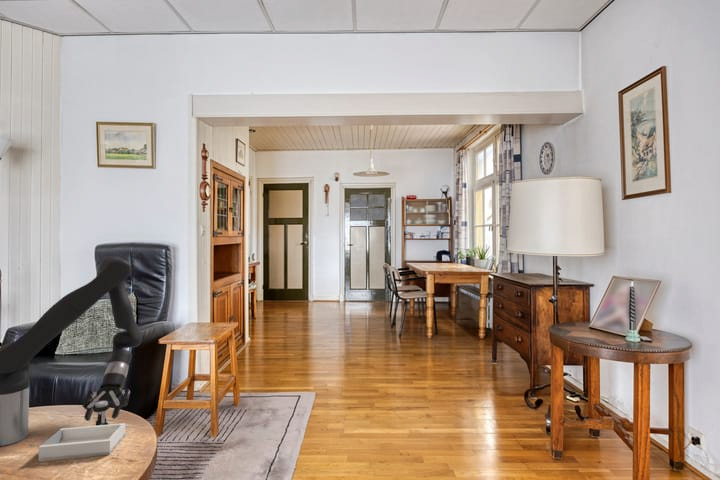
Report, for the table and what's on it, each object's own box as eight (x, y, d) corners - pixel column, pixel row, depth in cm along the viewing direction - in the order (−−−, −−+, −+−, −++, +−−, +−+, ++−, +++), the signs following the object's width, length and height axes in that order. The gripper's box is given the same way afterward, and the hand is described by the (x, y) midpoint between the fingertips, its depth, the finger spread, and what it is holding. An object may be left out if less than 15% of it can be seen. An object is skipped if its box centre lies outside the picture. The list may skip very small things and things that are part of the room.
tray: (38, 461, 115) (38, 447, 115) (61, 441, 127) (61, 428, 127) (109, 454, 119) (109, 440, 119) (125, 435, 131) (125, 423, 131)
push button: (114, 429, 135) (114, 402, 136) (98, 436, 131) (98, 407, 131) (105, 425, 139) (106, 398, 139) (89, 431, 134) (89, 403, 134)
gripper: (91, 373, 141) (74, 416, 130) (132, 370, 144) (119, 413, 133) (98, 381, 146) (82, 424, 135) (137, 379, 149) (125, 421, 138)
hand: (100, 419), depth 134 cm, fingers open, 8 cm apart
